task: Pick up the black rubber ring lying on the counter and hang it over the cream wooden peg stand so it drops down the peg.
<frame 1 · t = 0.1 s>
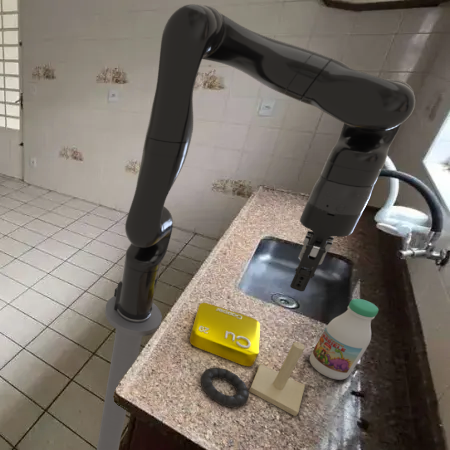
hand: (300, 278, 68), 30 cm above the worktop, tool pointing down, fingers open, 8 cm apart
ring: (224, 386, 80), point 1 cm above the worktop
element tile: (222, 338, 94), on the worktop
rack: (275, 390, 80), on the worktop
milk bottle: (327, 367, 86), on the worktop
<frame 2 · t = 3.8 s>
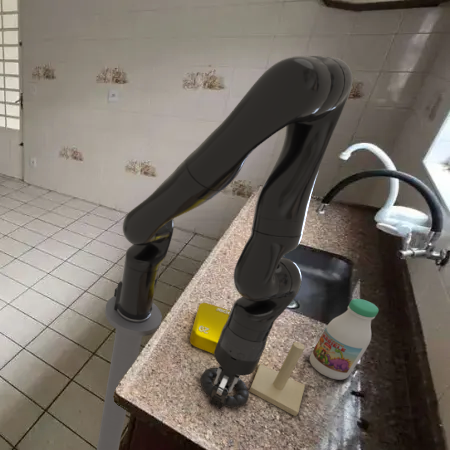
hand: (217, 399, 78), 0 cm above the worktop, tool pointing down, fingers closed on ring, 2 cm apart
ring: (224, 386, 80), point 1 cm above the worktop, touching gripper
everything else where it was.
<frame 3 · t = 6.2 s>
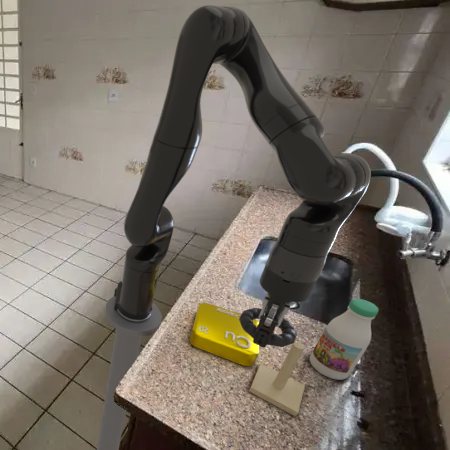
hand: (261, 339, 69), 19 cm above the worktop, tool pointing down, fingers closed on ring, 2 cm apart
ring: (267, 326, 71), point 20 cm above the worktop, touching gripper
everything else where it was.
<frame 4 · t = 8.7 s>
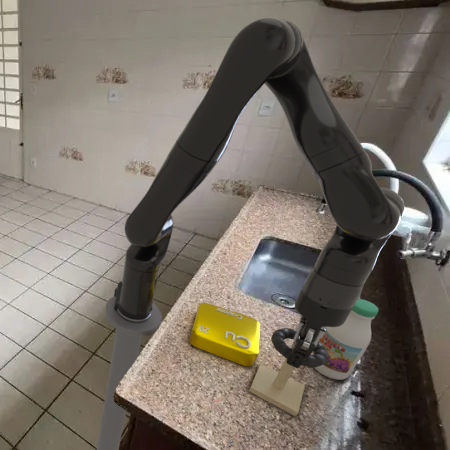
hand: (293, 360, 71), 13 cm above the worktop, tool pointing down, fingers closed on ring, 2 cm apart
ring: (298, 346, 73), point 14 cm above the worktop, touching gripper
everything else where it was.
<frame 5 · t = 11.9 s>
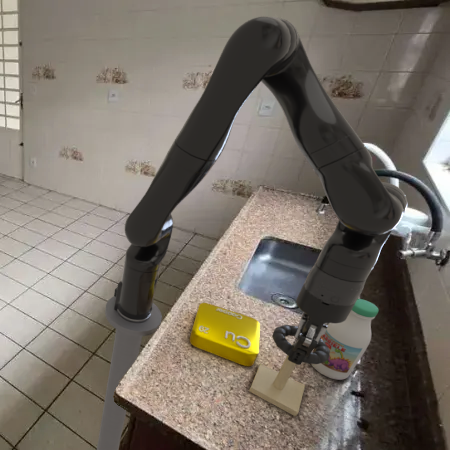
hand: (295, 357, 71), 14 cm above the worktop, tool pointing down, fingers closed on ring, 2 cm apart
ring: (300, 343, 73), point 15 cm above the worktop, touching gripper
everything else where it was.
when the fingers open (15 cm above the worktop, at t = 14.8 s): ring drops 14 cm, resting on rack.
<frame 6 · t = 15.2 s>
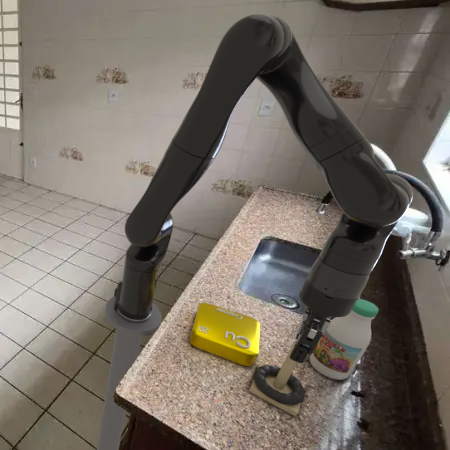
hand: (298, 350, 70), 16 cm above the worktop, tool pointing down, fingers open, 6 cm apart
ring: (278, 384, 79), point 3 cm above the worktop, touching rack
everything else where it was.
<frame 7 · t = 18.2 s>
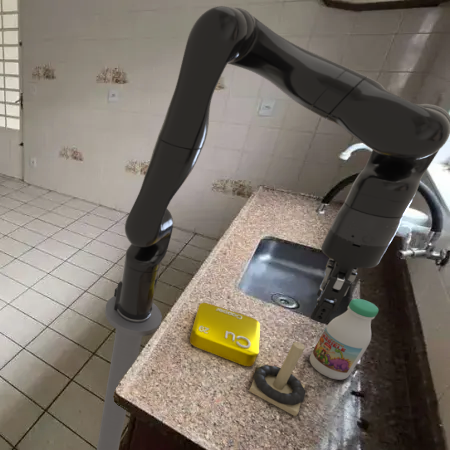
hand: (320, 308, 65), 27 cm above the worktop, tool pointing down, fingers open, 8 cm apart
nothing on the worktop moved.
at the end: ring 0.6 cm from the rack (horizontally); ring point 2.6 cm above the worktop; the gripper is holding nothing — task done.
